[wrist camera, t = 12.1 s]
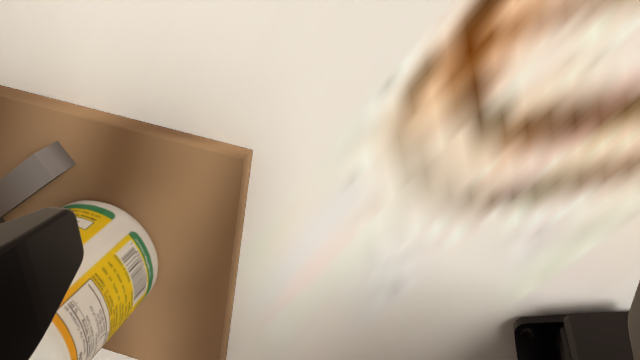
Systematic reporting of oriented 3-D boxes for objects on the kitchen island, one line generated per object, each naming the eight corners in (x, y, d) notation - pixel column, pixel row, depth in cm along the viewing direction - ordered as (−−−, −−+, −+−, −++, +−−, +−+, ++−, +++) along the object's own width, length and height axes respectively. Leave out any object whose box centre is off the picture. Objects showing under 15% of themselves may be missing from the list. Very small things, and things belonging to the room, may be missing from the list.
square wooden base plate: (252, 150, 24) (230, 175, 21) (224, 369, 29) (204, 407, 27) (-18, 80, 25) (-65, 96, 23) (2, 300, 31) (-34, 331, 28)
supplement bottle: (184, 254, 25) (39, 427, 17) (124, 319, 28) (-30, 499, 19) (86, 171, 25) (-116, 307, 16) (33, 244, 27) (-167, 396, 19)
